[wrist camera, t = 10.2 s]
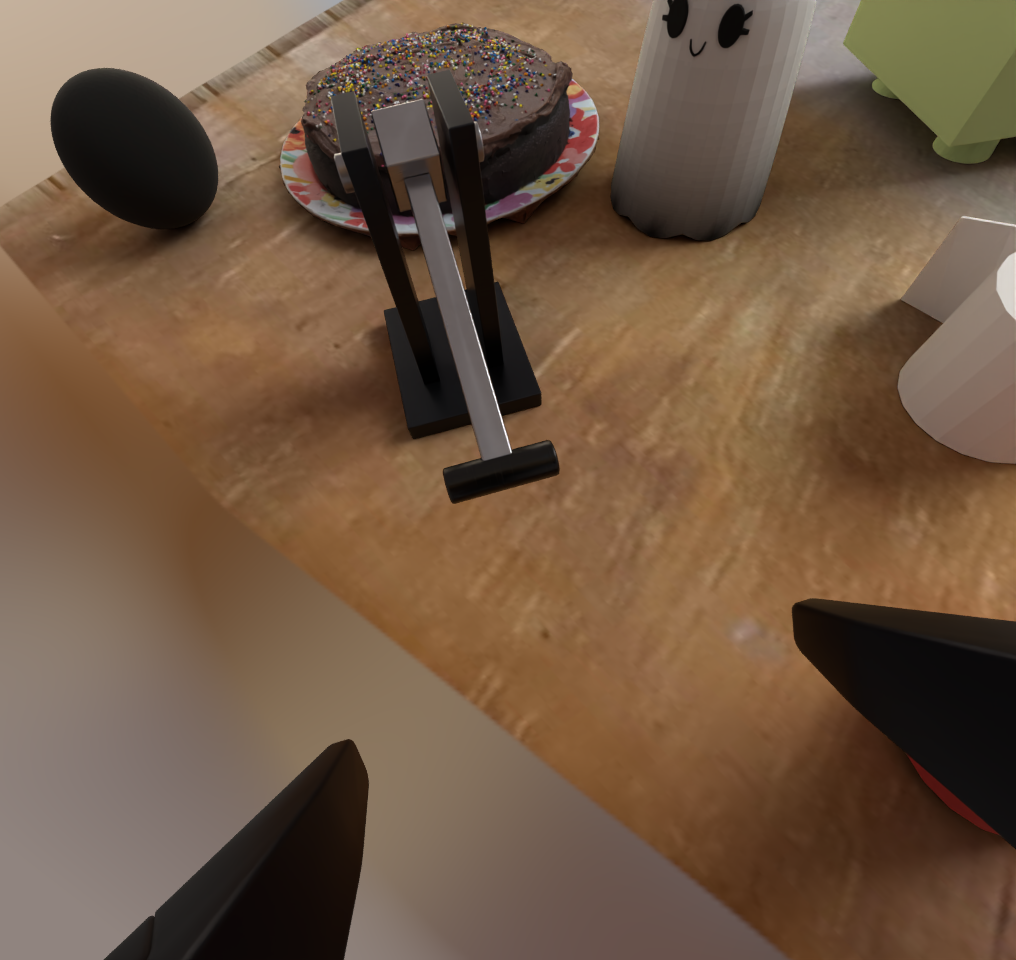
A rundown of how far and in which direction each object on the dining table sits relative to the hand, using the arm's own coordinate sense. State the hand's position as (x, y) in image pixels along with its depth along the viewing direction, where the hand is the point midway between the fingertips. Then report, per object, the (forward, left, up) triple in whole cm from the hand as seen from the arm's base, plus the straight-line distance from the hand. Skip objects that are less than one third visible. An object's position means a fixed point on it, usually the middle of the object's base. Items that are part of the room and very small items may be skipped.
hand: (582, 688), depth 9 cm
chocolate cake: (-16, +43, -14) cm, 48 cm away
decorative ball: (-36, +32, -14) cm, 50 cm away
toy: (+5, +37, -14) cm, 40 cm away
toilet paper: (+21, +21, -14) cm, 33 cm away
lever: (-6, +14, -4) cm, 16 cm away
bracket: (-9, +19, -13) cm, 25 cm away
